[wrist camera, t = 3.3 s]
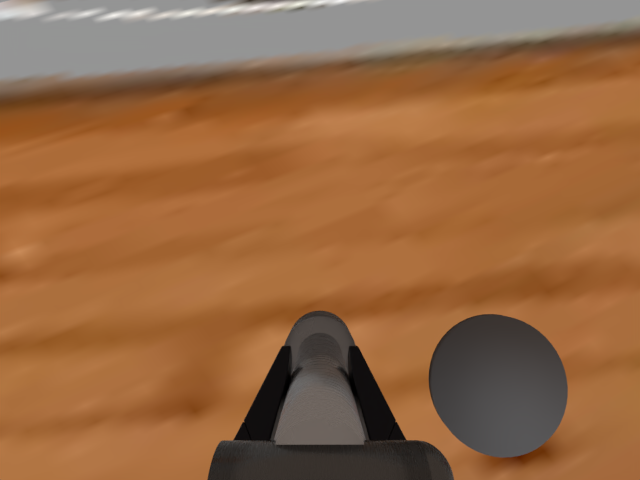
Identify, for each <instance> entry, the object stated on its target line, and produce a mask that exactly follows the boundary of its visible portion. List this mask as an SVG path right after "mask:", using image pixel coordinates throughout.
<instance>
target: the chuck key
mask: <svg viewBox="0 0 640 480" xmlns="http://www.w3.org/2000/svg"><path fill="white" fill-rule="evenodd" d="M284 346H291V351H292V373H291V380H290V383H289V387H288V391H287V394H286V398H285V402H284V405H283V409H282V413H281V416H280V420H279V423H278V427H277V431H276V434H275V438H274V440H222V441H220V442H219V444H218V446H217V447H216V450H215V452H214V455H213V458H212V461H211V465H210V469H209V474H208V479H207V480H454V476H453V472H452V469H451V467H450V465H449V463H448V461H447V459H446V458H445V456H444V455H443V454H442V453H441V451H439V450H438V449H437V448H436V447H435V446H433V445H431V444H430V443H428V442H425V441H419V440H366V439H365V436H364V432H363V428H362V425H361V421H360V417H359V414H358V410H357V406H356V403H355V399H354V395H353V392H352V388H351V384H350V380H349V377H348V349H349V346H356V345H355V342H354V339H353V337H352V335H351V333H350V331H349V329H348V327H347V326H346V324H345V323H344V322H343V320H342V319H341V318H339V317H338V316H337V315H335V314H333V313H331V312H327V311H312V312H309V313H307V314H305V315H303V316H302V317H300V318H299V319H298V320H297V321H296V323H295V324H294V325H293V327H292V329H291V331H290V333H289V335H288V337H287V339H286V341H285V344H284Z"/></svg>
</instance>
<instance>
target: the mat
mask: <svg viewBox="0 0 640 480" xmlns="http://www.w3.org/2000/svg"><path fill="white" fill-rule="evenodd" d="M429 390H430V395H431V399H432V402H433V405H434V407H435V409H436V411H437V413H438V415H439V417H440V418H441V420H442V422H443V423H444V424H445V425H446V427H447V428H448V429H449V430H450V431H451V433H452V434H453V435H454V436H455V437H456V438H457V439H458V440H459V441H461V442H462V443H463V444H465V445H466V446H468V447H469V448H471V449H473V450H475V451H477V452H480V453H482V454H485V455H489V456H493V457H502V458H503V457H515V456H521V455H524V454H527V453H529V452H531V451H533V450H535V449H537V448H538V447H540V446H541V445H543V444H544V443H545V442H546V441H547V440H548V439H549V438H550V437H551V436H552V435H553V434H554V432H555V431H556V430H557V428H558V426H559V425H560V423H561V420H562V418H563V416H564V413H565V409H566V405H567V397H568V385H567V377H566V373H565V369H564V366H563V364H562V361H561V359H560V357H559V355H558V353H557V351H556V350H555V348H554V347H553V345H552V344H551V343H550V342H549V341H548V339H547V338H546V337H545V336H544V335H543V334H542V333H540V332H539V331H538V330H537V329H535V328H534V327H532V326H531V325H529V324H527V323H525V322H523V321H521V320H518V319H515V318H512V317H508V316H503V315H497V314H482V315H477V316H473V317H470V318H467V319H465V320H463V321H461V322H459V323H457V324H456V325H454V326H453V327H452V328H451V329H450V330H448V331H447V332H446V334H445V335H444V336H443V337H442V338H441V340H440V341H439V343H438V344H437V346H436V348H435V350H434V352H433V355H432V358H431V362H430V367H429Z"/></svg>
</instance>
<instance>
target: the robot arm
mask: <svg viewBox="0 0 640 480" xmlns="http://www.w3.org/2000/svg"><path fill="white" fill-rule="evenodd" d="M291 373H292V351H291V346H282V347H281V348H280V350H279V352H278V354H277V356H276V358H275V360H274V362H273V364H272V366H271V368H270V370H269V372H268V374H267V376H266V378H265V380H264V382H263V384H262V386H261V388H260V389H259V391H258V393H257V395H256V397H255V399H254V401H253V403H252V405H251V407H250V409H249V411H248V413H247V415H246V417H245V419H244V422H242V424H241V426H240V428H239V430H238V432H237V434H236V436H235V438H234V439H233V440H274V438H275V434H276V431H277V427H278V423H279V420H280V416H281V413H282V409H283V405H284V402H285V398H286V394H287V391H288V387H289V383H290V380H291ZM348 377H349V380H350V384H351V388H352V392H353V395H354V399H355V403H356V406H357V410H358V414H359V417H360V421H361V425H362V428H363V432H364V436H365V439H366V440H406V438H405V436H404V434H403V433H402V431H401V429H400V427H399V425H398V423H397V422H396V419H395V417H394V415H393V413H392V411H391V409H390V407H389V406H388V404H387V402H386V400H385V398H384V396H383V394H382V392H381V390H380V388H379V386H378V384H377V382H376V380H375V378H374V376H373V374H372V372H371V370H370V368H369V366H368V364H367V363H366V361H365V359H364V357H363V355H362V353H361V351H360V349H359V347H358V346H349V349H348Z"/></svg>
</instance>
